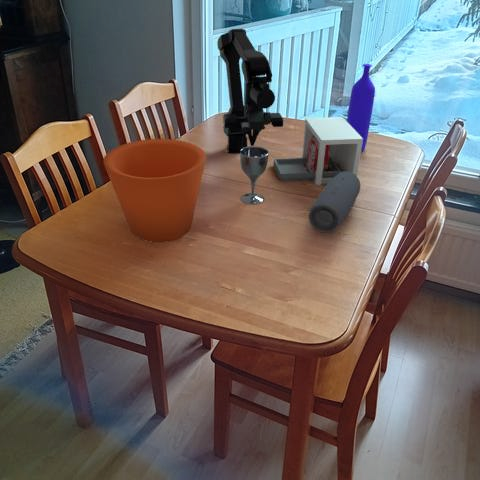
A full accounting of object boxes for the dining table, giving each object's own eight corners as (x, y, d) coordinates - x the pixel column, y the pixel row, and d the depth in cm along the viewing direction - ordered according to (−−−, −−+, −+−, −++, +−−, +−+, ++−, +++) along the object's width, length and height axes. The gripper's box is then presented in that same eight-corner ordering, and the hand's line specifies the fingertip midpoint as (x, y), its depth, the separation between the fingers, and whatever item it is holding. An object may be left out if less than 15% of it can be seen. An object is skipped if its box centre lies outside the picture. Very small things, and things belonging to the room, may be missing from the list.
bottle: (367, 146, 179) (382, 63, 163) (362, 153, 173) (377, 68, 157) (346, 142, 182) (358, 60, 166) (340, 149, 176) (352, 65, 160)
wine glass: (269, 195, 145) (271, 148, 136) (261, 207, 138) (263, 159, 130) (244, 190, 147) (245, 144, 139) (235, 202, 140) (236, 154, 132)
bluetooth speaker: (328, 196, 145) (333, 166, 139) (359, 203, 141) (364, 172, 136) (304, 232, 127) (308, 199, 122) (338, 241, 124) (343, 207, 119)
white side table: (316, 185, 151) (321, 140, 143) (301, 159, 168) (305, 118, 159) (355, 183, 153) (363, 138, 144) (336, 158, 169) (342, 117, 161)
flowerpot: (187, 259, 116) (184, 186, 105) (95, 242, 121) (83, 171, 110) (219, 211, 136) (219, 145, 125) (139, 198, 141) (132, 134, 130)
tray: (280, 180, 153) (280, 173, 152) (273, 165, 163) (273, 158, 162) (340, 178, 155) (341, 171, 154) (330, 163, 165) (331, 156, 164)
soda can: (326, 178, 156) (330, 143, 149) (304, 175, 157) (308, 140, 150) (327, 169, 161) (332, 135, 155) (306, 166, 163) (310, 133, 156)
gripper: (226, 107, 140) (226, 156, 149) (288, 106, 143) (284, 154, 151) (223, 95, 149) (222, 142, 158) (281, 94, 152) (278, 141, 160)
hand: (252, 145), depth 157 cm, fingers closed
